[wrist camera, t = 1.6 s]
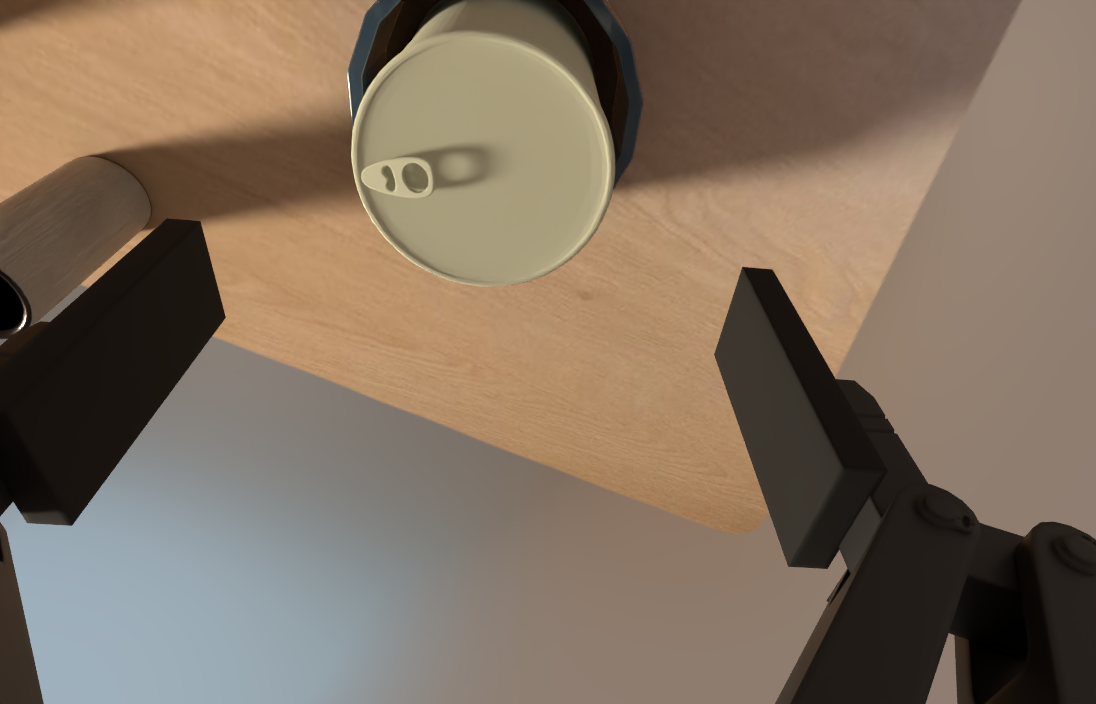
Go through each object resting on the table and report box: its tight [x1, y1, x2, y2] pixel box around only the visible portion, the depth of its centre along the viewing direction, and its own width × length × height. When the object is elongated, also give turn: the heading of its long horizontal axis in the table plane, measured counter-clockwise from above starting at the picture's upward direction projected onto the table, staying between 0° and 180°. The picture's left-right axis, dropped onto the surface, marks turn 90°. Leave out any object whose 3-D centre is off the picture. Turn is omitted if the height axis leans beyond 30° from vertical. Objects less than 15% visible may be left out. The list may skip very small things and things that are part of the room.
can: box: [351, 0, 615, 287], centre depth 26 cm, size 9×9×12 cm
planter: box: [0, 157, 151, 339], centre depth 30 cm, size 4×4×10 cm
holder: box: [347, 0, 643, 190], centre depth 29 cm, size 12×12×5 cm
